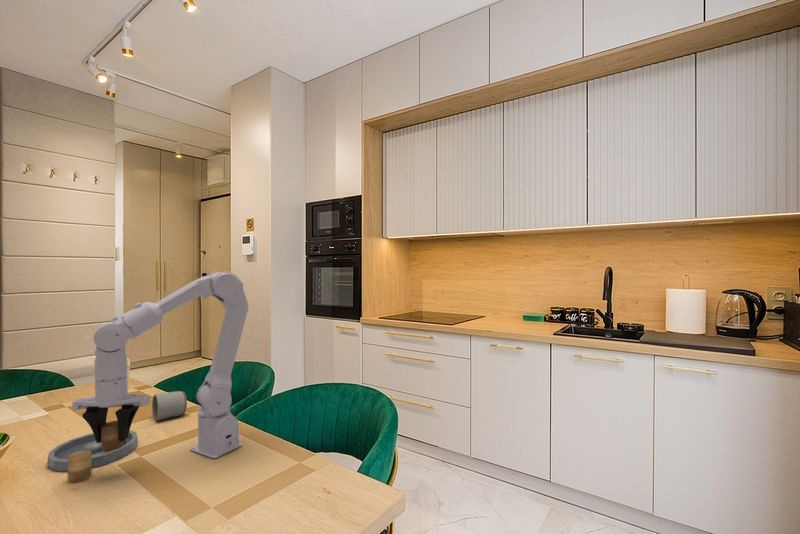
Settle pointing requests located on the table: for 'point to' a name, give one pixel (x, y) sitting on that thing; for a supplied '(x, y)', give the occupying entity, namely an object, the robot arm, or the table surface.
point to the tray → (88, 442)
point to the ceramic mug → (168, 405)
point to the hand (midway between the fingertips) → (112, 440)
